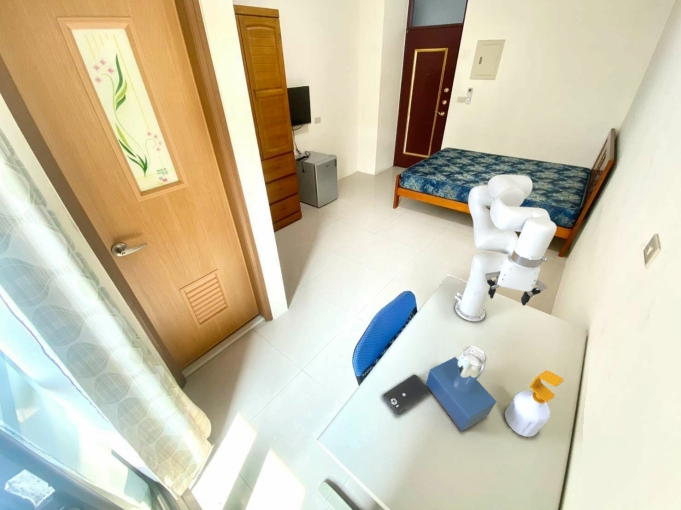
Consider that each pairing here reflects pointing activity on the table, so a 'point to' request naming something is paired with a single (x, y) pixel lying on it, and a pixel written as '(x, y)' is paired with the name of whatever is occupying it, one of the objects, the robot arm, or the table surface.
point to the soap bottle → (532, 406)
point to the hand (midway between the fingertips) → (506, 299)
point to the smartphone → (406, 394)
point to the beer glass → (469, 368)
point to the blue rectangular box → (459, 396)
